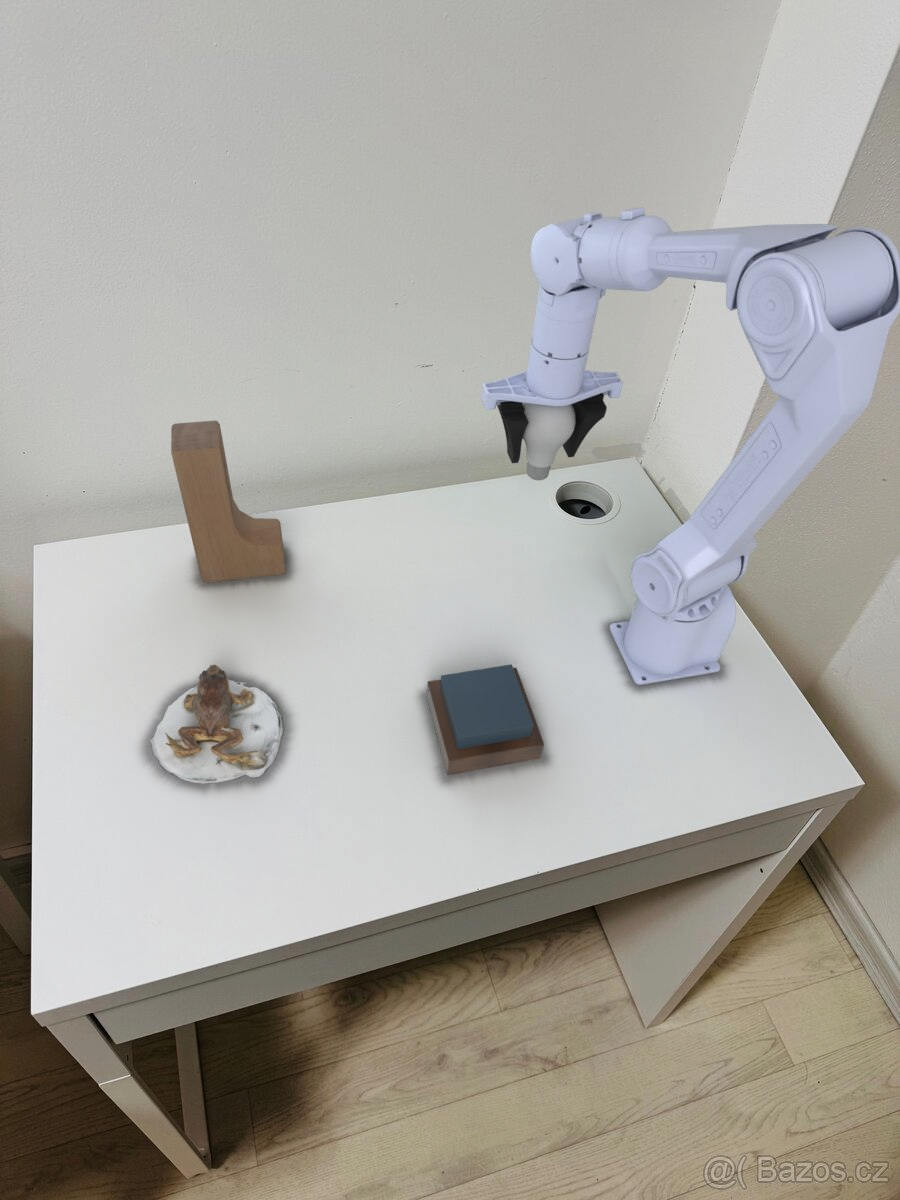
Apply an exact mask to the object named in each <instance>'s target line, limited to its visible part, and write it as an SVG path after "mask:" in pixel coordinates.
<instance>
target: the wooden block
mask: <svg viewBox="0 0 900 1200" xmlns="http://www.w3.org/2000/svg"><path fill="white" fill-rule="evenodd" d="M170 432H171V435H170V438H171V439H170V440H171V441H170V453H171V454H170V455H171V456H172V457H171V458H172V462H173V466H174V470H175V471H174V472H175V474H176V478H177V482H178V487H179V492H180V496H181V499H182V504H183V509H184V512H185V516H186V520H187V521H186V522H187V524H188V529H189V533H190V537H191V542H192V546H193V549H194V554H195V558H196V562H197V566H198V567H197V568H198V570H199V575H200V579H201V581H202V583H205V584H207V583H216V582H225V581H233V580H243V579H251V578H252V579H253V578H262V577H271V576H280V575H285V574H286V571H287V566H286V557H285V550H284V541H283V534H282V524H281V521H280V520H279V519H278V518H262V517H261V518H260V517H253V516H250V515H249V514H247V513H245V512H243V511H242V510H240V508H239V506H238V505H237V503H236V501H235V499H234V495H233V490H232V484H231V479H230V473H229V468H228V462H227V456H226V451H225V444H224V440H223V435H222V429H221V424H220V423H219V421H218V420H205V421H191V422H190V421H189V422H176V423H172V425H171V431H170Z"/></svg>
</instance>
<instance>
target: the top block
mask: <svg viewBox="0 0 900 1200" xmlns="http://www.w3.org/2000/svg"><path fill="white" fill-rule="evenodd" d="M513 668H514V666H513V664H506V665H500V666H493V667H485V668H480V669H473V670H468V671H460V672H455V673H448V674H442V675H440V679H441V680H440V679H439V680H440V690H441V694H442V697H443V701H444V705H445V708H446V712H447V715H448V719H449V722H450V726H451V729H452V733H453V736H454V740H455V744H456V747H457V750H458V749H464V748H470V747H475V746H481V745H487V744H492V743H498V742H503V741H509V740H515V739H520V738H526V737H531V733H532V729H533V722H532V719H531V716H530V713H529V711H528V708H527V705H526V702H525V699H524V697H523V694H522V691H521V688H520V686H519V683H518V680H517V677H516V674H515V672H514V669H513Z"/></svg>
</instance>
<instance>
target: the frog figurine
mask: <svg viewBox="0 0 900 1200" xmlns="http://www.w3.org/2000/svg"><path fill="white" fill-rule="evenodd" d="M198 678H199V679H198V683H197V685H195V686H194V687H191V688H189V689H187V691H185V692H184V693H183V694H181V695H179V697H177V699H176V700H175V701H173V702H172V703H171V704H170V705H168V706H167V708H166V711H165V713H164V715H163V718H162V719H161V721H160V722H159V724H158V725H157V726H156V731H154V735H153V737H152V738H150V740H149V741H150V744H151V749H152V753H153V756H155V758H156V759H157V760H158V762H159V764H160V766H161V767H163V769H165V771H167V772H168V773H170V774H173V775H174V776H175V777H177V778H179V779H180V780H183V781H185V782H191V783H196V784H203V785H204V784H205V785H206V784H211V783H213V784H215V783H222V782H228V781H232V780H235V779H238V778H240V777H242V776H243V777H244V776H247V777H249V778H259V777H261V776H262V775H263V774H264V773H265V771H266V770H267V769H268V768H269V767H271V765H272V764H273V763H274V761H275V759H276V758H277V755H278V753H279V750H280V745H281V741H282V737H283V732H284V728H283V721H282V713H280V711H279V710H278V705H277V704H276V703H275V701H274V700H273V699H272V698H271V697H270V696H269V695H268V694H267V693H266V692H264V691H263V690H261V689H260V688H258V687H256V686H253V687H248V686H246V685H245V684H247V685H248V683H247V682H242V681H235V680H233V679H229V678H228V676H227V672H226V671H225V670H223V669H222V668H221V667H220V666H218V665H217V664H210V665H209V667H207V669H206V670H203V671H202V672H201V673H200V674H199V676H198ZM238 683H240V684H238Z"/></svg>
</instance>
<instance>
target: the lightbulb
mask: <svg viewBox="0 0 900 1200" xmlns="http://www.w3.org/2000/svg"><path fill="white" fill-rule="evenodd" d="M523 407H524V408H525V410H524V413H525V415H526V418H527V420H528V422H529V423H528V425H527V427H526V430H525V432H524V436H523V439H522V440H523V441H524V445H525V451H526V452H525V453H526V454H525V459H526V461H527V462H526V475H527V476H528V478H530V479H531V480H533V481H543V480H545V479H547V478H548V477H549V474H550V470H551V467H552V465H553V463H554V462H555V459H556V456H557V453H558V451H559V450H560V449H561V447H563V444H564V443H565V442H566V441H567V440H568V439H569V438H570V436H571V435H572V433H573V431H574V428H575V424H576V415H575V411H574V408H573V406H572V404H570V405H566V406H547V405H539V404H530V403H523Z"/></svg>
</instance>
